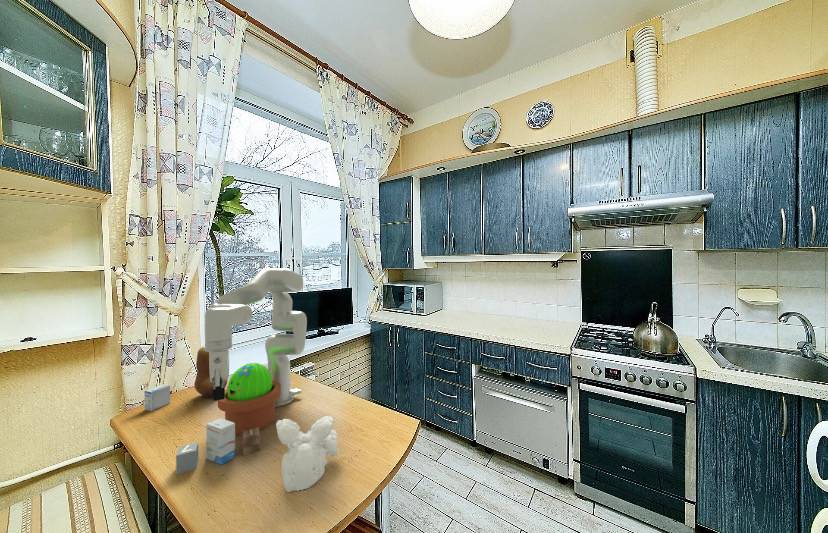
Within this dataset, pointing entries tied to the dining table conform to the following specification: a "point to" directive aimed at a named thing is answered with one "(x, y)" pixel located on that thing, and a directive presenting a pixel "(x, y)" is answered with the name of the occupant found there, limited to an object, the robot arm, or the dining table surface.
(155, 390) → the medicine box
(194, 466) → the slate block
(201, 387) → the butternut squash
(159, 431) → the dining table surface
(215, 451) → the ink box
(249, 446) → the walnut block
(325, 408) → the dining table surface
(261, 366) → the potted cactus
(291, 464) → the cauliflower
